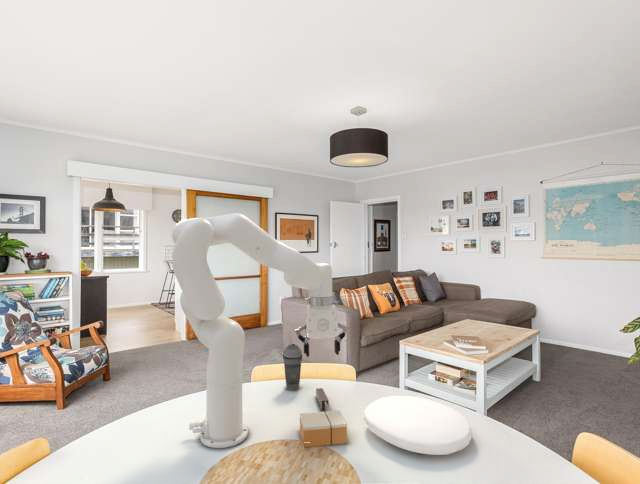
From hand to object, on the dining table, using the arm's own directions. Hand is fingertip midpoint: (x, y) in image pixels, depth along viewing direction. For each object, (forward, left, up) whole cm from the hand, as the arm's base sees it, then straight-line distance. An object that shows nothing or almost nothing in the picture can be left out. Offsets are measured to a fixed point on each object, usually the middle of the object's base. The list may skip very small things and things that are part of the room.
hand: (322, 354), depth 119 cm
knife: (0, -3, -16) cm, 17 cm away
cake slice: (0, -19, -16) cm, 25 cm away
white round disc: (+22, -21, -17) cm, 35 cm away
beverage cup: (-8, +16, -17) cm, 24 cm away
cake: (-6, -19, -16) cm, 26 cm away
